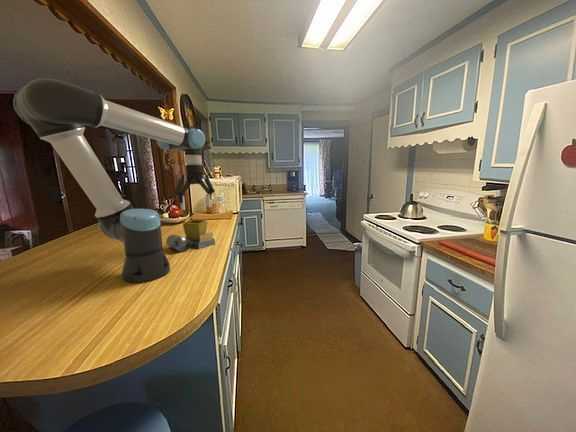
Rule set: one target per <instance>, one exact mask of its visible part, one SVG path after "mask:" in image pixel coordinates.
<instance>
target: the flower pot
mask: <svg viewBox="0 0 576 432" xmlns="http://www.w3.org/2000/svg"><path fill="white" fill-rule="evenodd" d="M182 228H183V230H184V231H183V232H184V235H185V234H186V235H185V237H186V236H187V237H188V238H189V239H190V240H199V235H202V234H206V233H207V230H208V220H207V219H190V220H186V221H184V222H183V223H182Z"/></svg>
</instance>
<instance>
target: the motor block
mask: <svg viewBox="0 0 576 432" xmlns="http://www.w3.org/2000/svg"><path fill="white" fill-rule="evenodd" d="M213 233H214V232H212V231H211V232H206V233H205V234H202V235H199V240H190V239H189V238H188V237H187V236H186V234H185V233H184V235H185V237H182V236H180V235H177V234H170V235H169V236H168V237H167V238H166V241H165V244H166V246H168V247H169V248H171V249H173V250H175V251H177V252H180V253H183V252H186V251H188V250H189V249H190V248H195V249H197V250H200V249H204V248H208V247H211V246H215V245H216V241H215V240H216V239H215V238H214V236H213V235H214V234H213Z"/></svg>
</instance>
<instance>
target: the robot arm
mask: <svg viewBox="0 0 576 432" xmlns="http://www.w3.org/2000/svg"><path fill="white" fill-rule="evenodd" d="M13 109H14V110H15V112H16V114H17V115H18V116H19V118H21V120H22V121H23V122H25V123H26V124H28V125H29V126H31V128H32V129H33V131H34V132H35V134H36V135H37V136H38V138H39V139H40V140H42V141H46V142H48V143H50V145H51V146H52V147H53V149H54V150H55V152H56V153H57V154H58V156H59V157H60V159H61V160H62V162H63V163H64V165H65V166H66V167H67V169H68V171H70V173H71V175H72V176H73V178H74V179H75V180H76V182H77V183H78V185H79V186H80V188H81V189H82V190H83V192H84V194H86V196H87V197H88V198H87V199H89V201H90V202H91V203H92V205H93V206H94V207H95V209H96V211H95V214H94V217H95V218H96V219H97V220H98V225H99V229H100V231H101V232H102V233H103V234H104V235H105V236H107V237H108V238H110V239H112V240H116V241H120V242H123V247H124V248H123V249H124V255H125V258H124V263H123V266H122V270H121V277H122V280H123V281H124V282H126V283H131V284H133V283H134V284H136V283H138V284H139V283H144V282H145V283H146V282H151V281H155V280H157V279H160V278H162V277H164V276H166V275H168V274H169V272H171V265H170V261H169V259H168V257H167V255H166V254H165V251H164V247H163V238H162V229H161V226H162V225H161V219H160V214H159V213H158V211H156V210H154V209H150V208H149V209H148V208H134V207H133V204H131V201H130V200H126V199H123V197H122V195H121V194H120V192H119V191H118V190H117V188H116V186H115V184H114V182H112V180H111V178H110V176H109V174H108V173H107V172H106V170H105V168H104V167H103V165H102V163H101V162H100V160H99V159H98V157H97V155H96V154H95V152H94V151H93V148H92V147H91V145H90V144H89V143H88V140H87V139H86V137H85V136H84V132H85V130H86V127H85V126H89V127H92V128H98V127H99V128H100V126H102V127H106V128H110V129H114V130H118V131H120V132H125V133H129V134H133V135H137V136H140V137H144V138H148V139H152V140H156V144H157V146H158V147H159V149H162V150H167V151H169V150H171V151H181V152H184V163H185V174H179V175H178V176H179V177H178V181H177V184H176V186H175V189H174V192H173V195H175V196H177V198H178V199H177V200H178V204H180V210H181V211H186V202H185V201H186V199H185V196H184V194H185V192H186V191H187V190H188V188H190V186H191V185H199V186H200V187H201V188H202V189H203V190H204V191H205V192H206V193H205V205H206V207H207V208H211V206H212V205H211V201H212V195H213V194H214V193H216V192H215V189H214V187H213V185H212V183H211V181H210V178H209V174H203V166H202V164H203V159H202V158H203V157H202V148H203V147H204V146H205V143H206V136H205V133H203V131H202V130H201V129H198V128H187V127H184V126H181V125H179V124H176V123H172V122H170V121H167V120H164V119H160V118H158V117H155V116H152V115H149V114H146V113H144V112H141V111H137V110H135V109H131V108H129V107H126V106H124V105H121V104H118V103H115V102H112V101H109V100H106V99H105V98H104V97H103V96H102V95H101V94H99V93H97V92H96V91H95V92H94V91H91V90H89V89H86V88H83V87H80V86H77V85H75V84H73V83H72V84H71V83H69V82H66V81H63V80H59V79H54V78H49V77H48V78H45V77H44V78H43V77H42V78H37V79H33V80H31V81H30V82H28V83H27V84H26V85H24V86H22V87H20V88H19V89H17V91H16V92H15V93H14V97H13ZM185 180H186V181H185ZM203 180H204V181H203ZM184 182H185V183H184Z"/></svg>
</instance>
